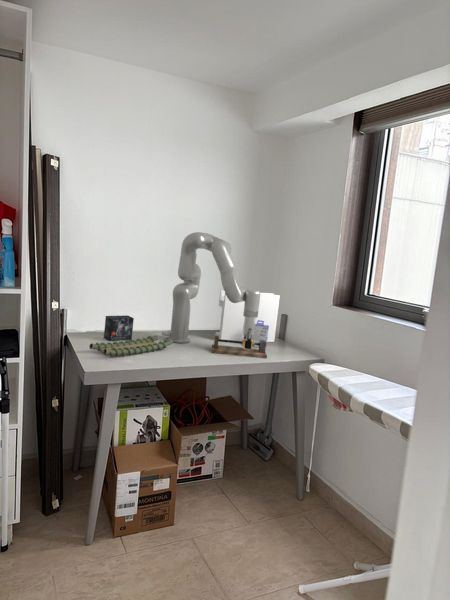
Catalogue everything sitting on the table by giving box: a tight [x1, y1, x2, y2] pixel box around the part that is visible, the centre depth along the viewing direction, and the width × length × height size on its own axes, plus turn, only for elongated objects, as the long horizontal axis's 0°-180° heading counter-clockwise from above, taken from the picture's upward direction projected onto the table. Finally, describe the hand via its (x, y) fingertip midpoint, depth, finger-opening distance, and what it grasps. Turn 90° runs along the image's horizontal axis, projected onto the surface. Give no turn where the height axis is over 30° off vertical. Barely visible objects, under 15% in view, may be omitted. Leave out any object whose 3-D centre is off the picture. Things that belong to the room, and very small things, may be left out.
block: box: [214, 289, 281, 343], centre depth 271 cm, size 35×8×28 cm, turn 114°
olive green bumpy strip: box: [89, 335, 174, 357], centre depth 222 cm, size 41×14×5 cm, turn 140°
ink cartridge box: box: [252, 320, 269, 348], centre depth 259 cm, size 10×6×14 cm, turn 78°
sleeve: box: [241, 339, 253, 348], centre depth 240 cm, size 5×4×4 cm
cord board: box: [211, 335, 268, 359], centre depth 240 cm, size 28×12×8 cm, turn 92°
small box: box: [103, 314, 135, 342], centre depth 241 cm, size 13×7×12 cm, turn 131°
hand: (246, 346), depth 241 cm, fingers open, 9 cm apart
